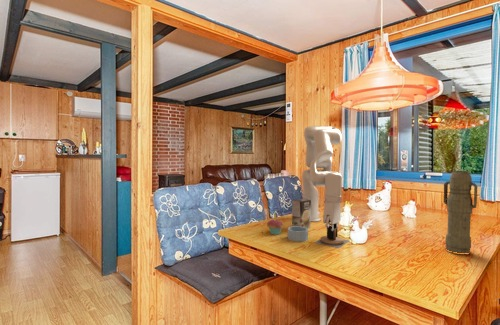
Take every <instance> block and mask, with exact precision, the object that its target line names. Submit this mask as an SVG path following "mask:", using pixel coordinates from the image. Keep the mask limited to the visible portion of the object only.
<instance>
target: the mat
mask: <svg viewBox="0 0 500 325" xmlns="http://www.w3.org/2000/svg"><path fill="white" fill-rule="evenodd" d="M349 242H350V240H349V239H344V244H342V245H328V244H324V243H322V242H321V238H320V239H318V240H315V241H314V242H313V243H314V244H318V245H321V246H322V245H323V246H327V247H331V248H336V249H339V248H342V247H343V246H345V245H346V244H347V243H349Z"/></svg>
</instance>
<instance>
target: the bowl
mask: <svg viewBox="0 0 500 325" xmlns="http://www.w3.org/2000/svg"><path fill="white" fill-rule="evenodd" d="M287 239H288V240H290V241H291V242H292V241H293V242H306V241H308V240H309V228H308V229H307V228H305V227H300V226H293V227H292V226H289V227H287Z"/></svg>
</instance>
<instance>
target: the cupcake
mask: <svg viewBox="0 0 500 325" xmlns="http://www.w3.org/2000/svg"><path fill="white" fill-rule="evenodd" d="M266 226H267V228H269V233H270V234H271V235H280V234H281V231H282V229H283V227H284V223H283V222H282V221H281V220H279V219H276V212H273V219H271V220H269V221H268V222H267V223H266Z"/></svg>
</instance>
